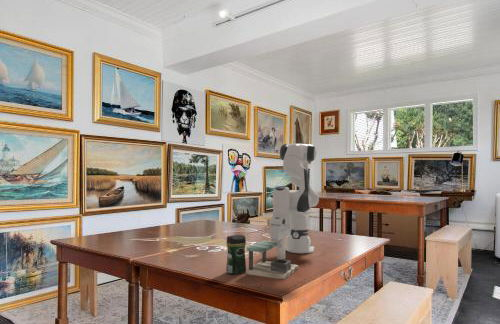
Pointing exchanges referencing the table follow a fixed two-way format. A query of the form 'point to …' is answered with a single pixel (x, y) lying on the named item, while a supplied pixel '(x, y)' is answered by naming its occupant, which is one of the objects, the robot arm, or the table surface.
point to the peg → (281, 250)
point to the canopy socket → (266, 268)
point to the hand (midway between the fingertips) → (281, 246)
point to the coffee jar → (236, 254)
